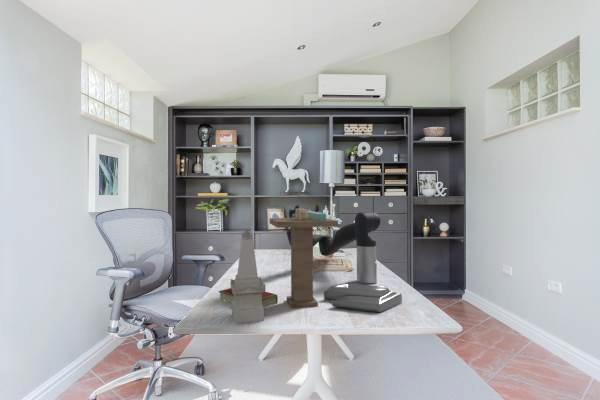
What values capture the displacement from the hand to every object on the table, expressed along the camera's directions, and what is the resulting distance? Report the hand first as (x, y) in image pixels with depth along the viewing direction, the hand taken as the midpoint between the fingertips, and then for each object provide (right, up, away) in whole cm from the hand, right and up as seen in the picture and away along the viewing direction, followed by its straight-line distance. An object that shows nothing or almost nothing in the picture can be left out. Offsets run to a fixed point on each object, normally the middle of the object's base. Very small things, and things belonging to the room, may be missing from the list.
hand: (307, 206), depth 149 cm
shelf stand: (-3, -37, -17) cm, 40 cm away
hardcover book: (-24, -37, -14) cm, 46 cm away
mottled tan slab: (+12, -37, +54) cm, 66 cm away
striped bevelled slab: (+21, -37, -15) cm, 45 cm away
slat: (+2, -4, -10) cm, 11 cm away
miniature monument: (-21, -37, -32) cm, 53 cm away
